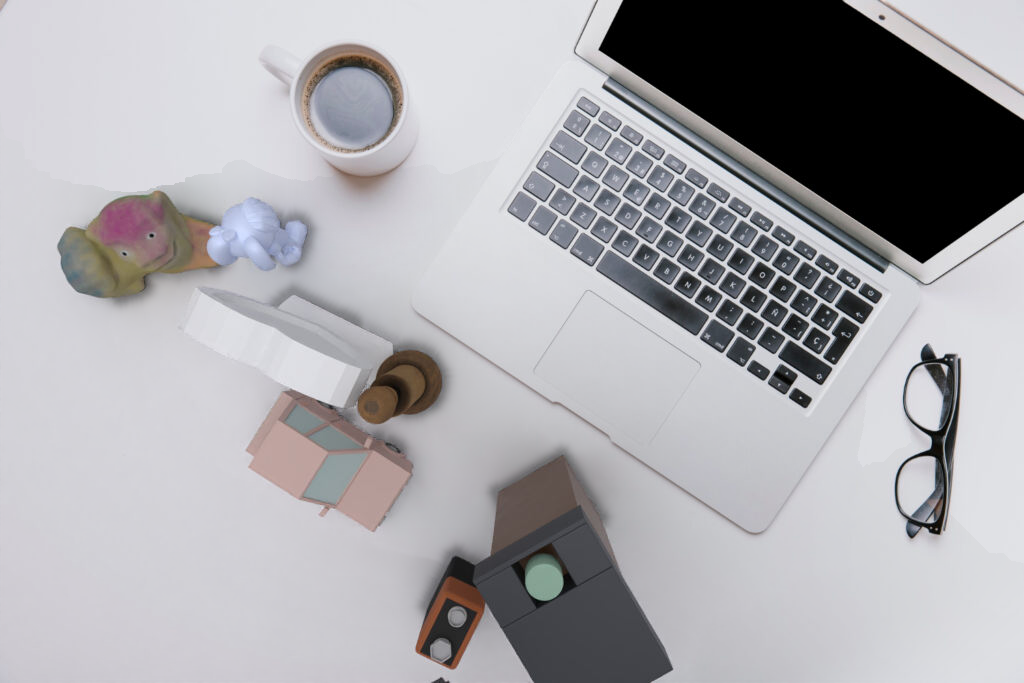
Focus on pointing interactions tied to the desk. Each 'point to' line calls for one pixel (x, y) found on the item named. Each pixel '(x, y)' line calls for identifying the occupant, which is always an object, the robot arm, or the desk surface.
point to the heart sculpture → (288, 343)
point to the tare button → (543, 577)
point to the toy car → (328, 460)
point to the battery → (451, 615)
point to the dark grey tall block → (565, 587)
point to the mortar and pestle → (401, 387)
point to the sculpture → (133, 246)
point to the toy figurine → (256, 236)
